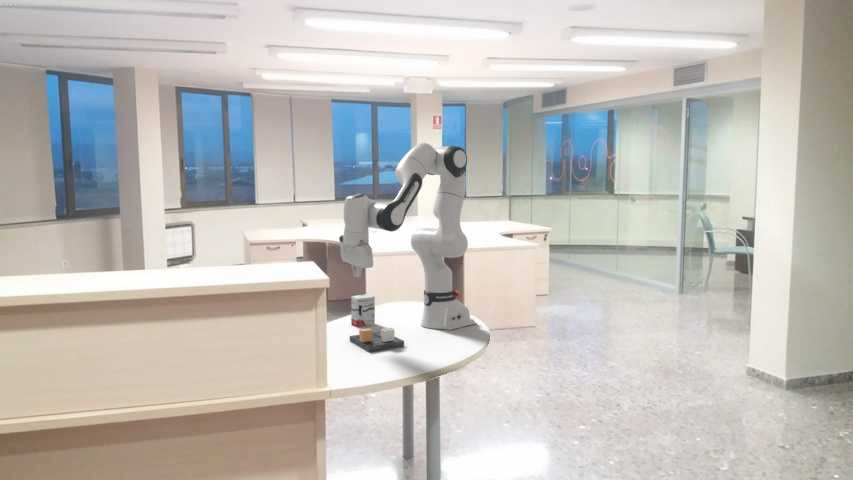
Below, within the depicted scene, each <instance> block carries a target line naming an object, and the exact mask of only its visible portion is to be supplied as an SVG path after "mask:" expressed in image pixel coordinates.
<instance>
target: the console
mask: <svg viewBox="0 0 853 480" xmlns="http://www.w3.org/2000/svg"><path fill="white" fill-rule="evenodd" d="M349 342H350V343H351V344H353V345H355V346H357V347H359V348H360V349H362V350H364V351H366V352H367V353H372V352H379V351H386V350H390V349H396V348H397V349H398V348H403V347H405V341H404V340H403V339H401V338H398V337H397V336H395V335H394V340H393V341H387V342H384V341H382V340H381V331H376V332H375V331H374V332H373V341H368V342H361V341H359V334H356V335H355V334H353V335H349Z"/></svg>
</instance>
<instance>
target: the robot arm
mask: <svg viewBox="0 0 853 480" xmlns="http://www.w3.org/2000/svg"><path fill="white" fill-rule="evenodd" d="M467 165H468V155H467V152H466V151H465V149H464V148H462V147H461V146H456V145H451V146H450V145H449V146H440V147H435V148H434V147H433V146H432V145H431V144H430V143H427V142H419V143H417V144H416V145H415V146H413V147H412V148H411V149H410V150H409V151H408V152H407V153H406V154H405V155H404V156H403V157H402V159H401V160H399V162H398V163H397V165H396V167H395V174H394V175H395V178H396V180H397V182H399V184H400V185H401V186H402V187H401V189H400V190H399V192H398V194H397V195H396V196H395V198H394V200H392V201H390V202H380V201H375V200H374V199H371V198H369V197H368V196H367V195H366V194H365V193H354V194H353V193H352V194H350V195H348V196H346V197H345V199H344V203H343V221H344V229H343V234H342V235H340V236H339V237H338V240H339V243H340V245H339V249H340V258H341V261H342V262H344V263H347V264H350V266H351V269H352V274H353V275H352V276H353V277H355V278H361V277H362V271H363V269H370V268H373V266H374V255H373V248H372V247H371V246H370V244H369V243H370V242H369V239H370V238H369V237H370V235H369V228H372V229H377V230H384V231H387V232H395V231H397V230H399V229H400V228H401V227H402V226H403V224H404V221H405V218H406V215H407V213H408V212H409V209H410V207H411V206H412V205H413V203H414V201H415V199H416V198H417V197H418V195H419V192H420V191H421V189H422V187H423V180H424V178H425V177H426V175H430V176H435V175H436V176H439V178H440V184H439V186H438V189H437V193H436V197H435V200H434V204H433V209H432V212H433V213H432V214H433V215H434V217H435V218H436V219H438V223H439V224H438V225H439V226H438V228H434V227H433V228H432V227H424V228H419V229H418V228H417V229H416V230H415V231H414V232H413V233H412V235H411V239H410V244H411V247H412V249H413V251H414V252H416V254H417V255H418V257H419V258H420V261H421V264H422V268H423V272H424V290H423V304H424V306H423V314H422V319H421V322H420V325H421V327H423V328H427V329H437V330H450V331H451V330H455V329H459V328H465V327H469V326H472V325H475V324H476V320H475V319H473V318H471V316H470V315H471V314H470V310H469V308H468V307H467V306H466V305H464V304H463V303H462V302H461V301H460V300H458V299H457V298H458V297H460V296H461V295H462V292H461V291H460V290H459V291H458V290H453V271H452V269H451V267H449V266H448V265H447V264H446V262H445V260H444V258H448V259H454V258H460V257H462V256H464V255H465V254H466V252H467V250H468V248H469V247H468V246H469V242H468V239H467V236H466V234H464V232H463V230H462V226H461V213H462V209H463V204H464V200H465V195H466V190H467V177H466V175H465V172H466V171H467ZM468 325H469V326H468Z"/></svg>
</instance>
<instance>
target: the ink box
mask: <svg viewBox="0 0 853 480" xmlns="http://www.w3.org/2000/svg"><path fill="white" fill-rule="evenodd" d="M375 298H376V297H375V296H373V295H371V294H369V293H366V294H358V295H352V296H351V298H350V299H351V310H350V311H351V315H350V316H351V317H350V319H351V323H350V325H352V326H354V327H356V328H361V327H367V326H373V325H375V324H376V320H375V319H376V317H375V316H376V308H375V307H376V305H375V304H376V303H375V302H376V299H375Z"/></svg>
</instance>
